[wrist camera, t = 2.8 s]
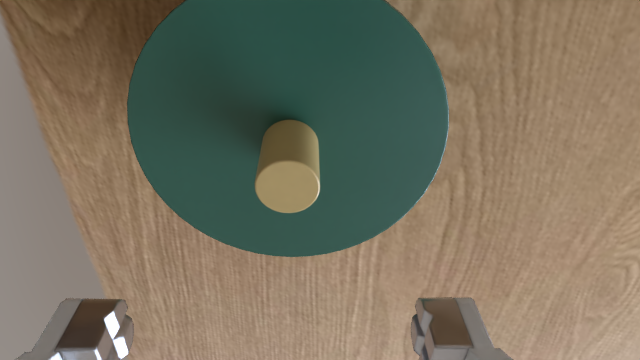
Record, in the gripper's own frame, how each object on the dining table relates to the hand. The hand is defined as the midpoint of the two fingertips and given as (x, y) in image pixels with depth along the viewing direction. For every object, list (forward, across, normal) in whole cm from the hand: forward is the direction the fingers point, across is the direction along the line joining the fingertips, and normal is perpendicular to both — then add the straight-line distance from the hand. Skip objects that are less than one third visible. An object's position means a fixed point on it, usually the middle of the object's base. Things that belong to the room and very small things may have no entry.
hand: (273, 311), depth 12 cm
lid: (+10, 0, 0) cm, 10 cm away
